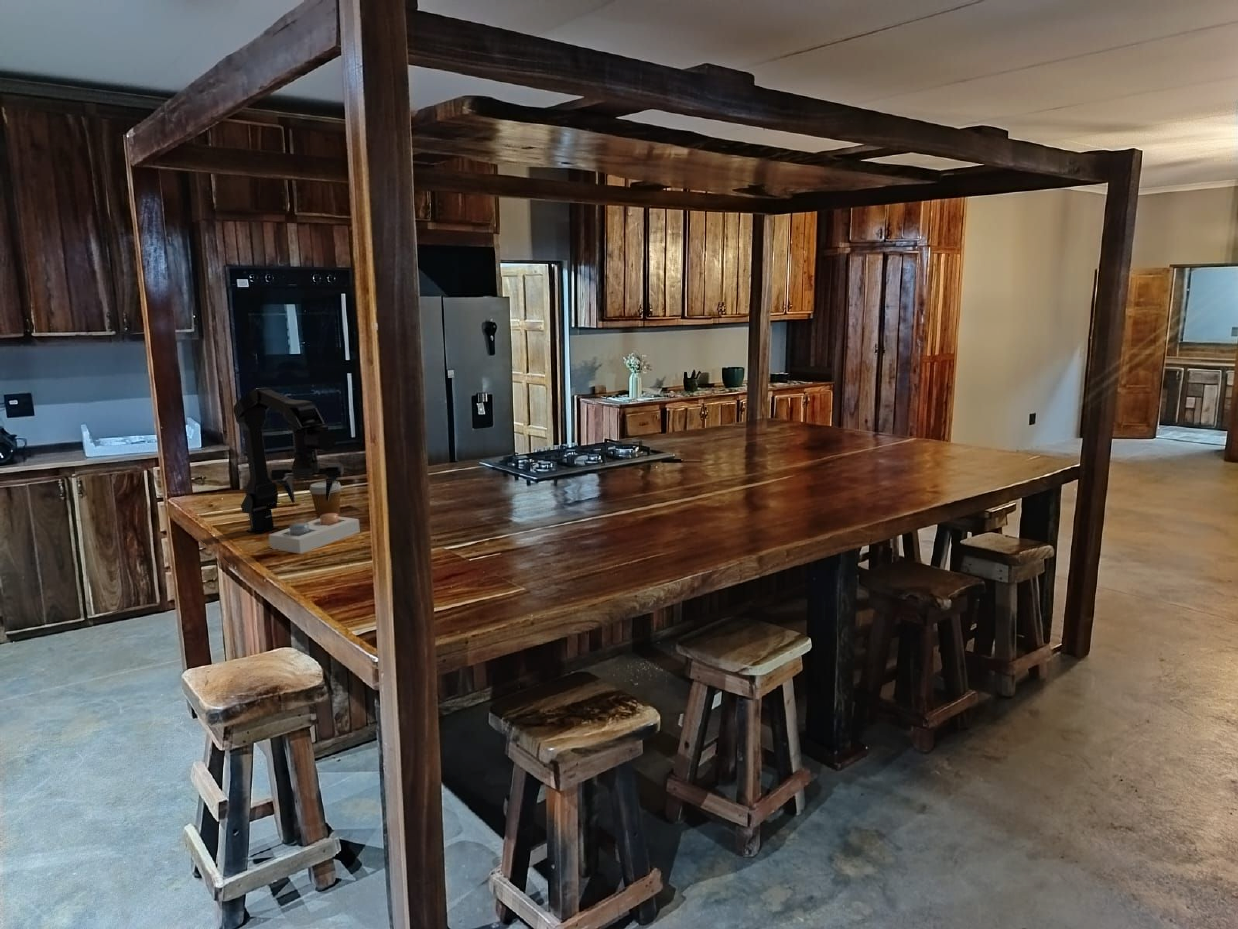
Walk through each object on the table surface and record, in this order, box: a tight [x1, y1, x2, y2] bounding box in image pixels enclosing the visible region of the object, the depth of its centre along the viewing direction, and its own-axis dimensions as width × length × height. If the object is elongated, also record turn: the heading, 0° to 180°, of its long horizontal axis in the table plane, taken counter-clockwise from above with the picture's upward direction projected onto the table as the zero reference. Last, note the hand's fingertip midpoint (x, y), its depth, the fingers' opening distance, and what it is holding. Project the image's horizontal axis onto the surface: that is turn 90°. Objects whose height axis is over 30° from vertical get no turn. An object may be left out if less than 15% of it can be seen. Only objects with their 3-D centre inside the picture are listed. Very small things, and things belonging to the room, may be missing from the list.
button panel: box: [268, 516, 361, 555], centre depth 241 cm, size 12×22×4 cm, turn 152°
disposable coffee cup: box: [309, 480, 343, 519], centre depth 259 cm, size 10×10×12 cm
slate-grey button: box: [289, 522, 309, 536], centre depth 235 cm, size 5×5×3 cm
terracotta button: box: [320, 513, 339, 526], centre depth 245 cm, size 5×5×3 cm
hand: (310, 501), depth 236 cm, fingers open, 9 cm apart
